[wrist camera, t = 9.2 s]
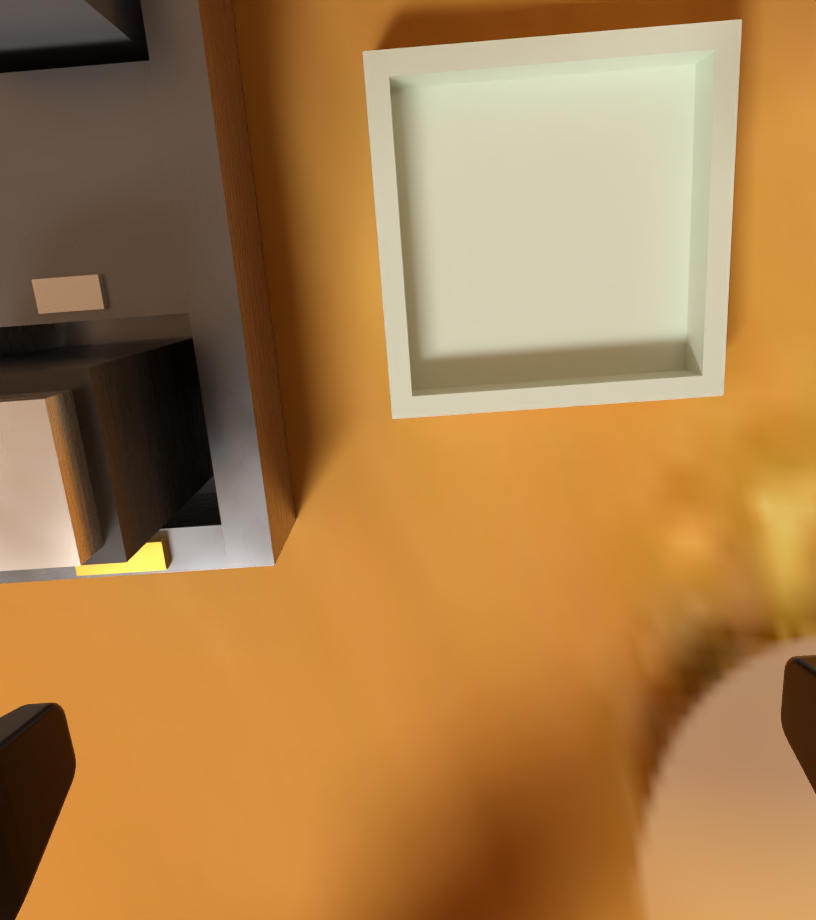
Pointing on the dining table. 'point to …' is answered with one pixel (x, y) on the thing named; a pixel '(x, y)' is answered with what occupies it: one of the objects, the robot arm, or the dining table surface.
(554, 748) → the dining table surface
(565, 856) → the dining table surface
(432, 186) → the tray
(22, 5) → the plug
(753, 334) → the dining table surface
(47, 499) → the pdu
